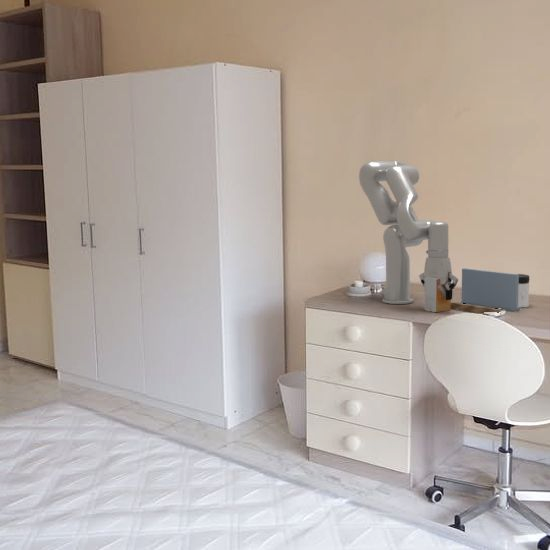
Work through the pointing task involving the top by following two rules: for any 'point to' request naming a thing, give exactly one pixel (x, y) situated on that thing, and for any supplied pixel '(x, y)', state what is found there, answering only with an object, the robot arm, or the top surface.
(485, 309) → the cleat ledge
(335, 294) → the top surface
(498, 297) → the wall board
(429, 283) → the small box
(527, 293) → the jar
